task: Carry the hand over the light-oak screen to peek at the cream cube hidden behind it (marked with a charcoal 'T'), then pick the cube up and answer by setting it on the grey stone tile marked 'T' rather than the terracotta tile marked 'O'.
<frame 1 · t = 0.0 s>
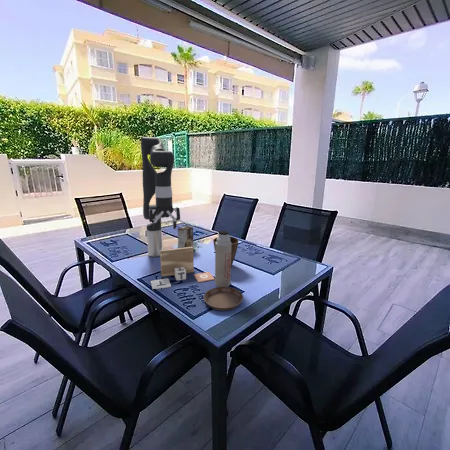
hand: (165, 229, 124), 29 cm above the table, fingers open, 8 cm apart
letter cube: (180, 277, 140), on the table
plant saucer: (223, 302, 118), on the table
coffee box: (185, 250, 181), on the table
thermos bottle: (222, 284, 134), on the table
plant pot: (225, 265, 157), on the table
pad T: (160, 284, 132), on the table
screen: (177, 272, 146), on the table
pad O: (203, 277, 140), on the table
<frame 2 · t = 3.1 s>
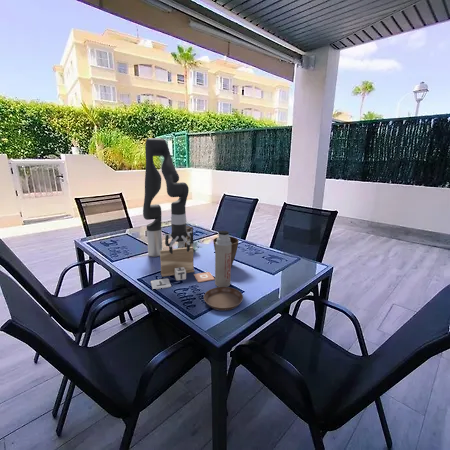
hand: (179, 252, 136), 15 cm above the table, fingers open, 8 cm apart
nothing on the table moved.
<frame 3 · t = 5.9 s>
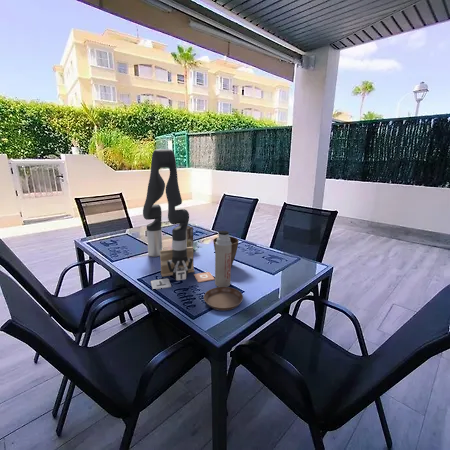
hand: (180, 277, 139), 0 cm above the table, fingers closed on letter cube, 5 cm apart
letter cube: (180, 277, 140), on the table, touching gripper
everything else where it was.
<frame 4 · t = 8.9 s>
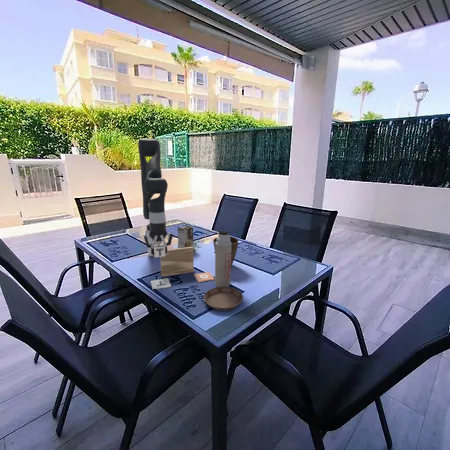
hand: (159, 254, 128), 16 cm above the table, fingers closed on letter cube, 5 cm apart
letter cube: (159, 255, 128), point 16 cm above the table, touching gripper
everything else where it was.
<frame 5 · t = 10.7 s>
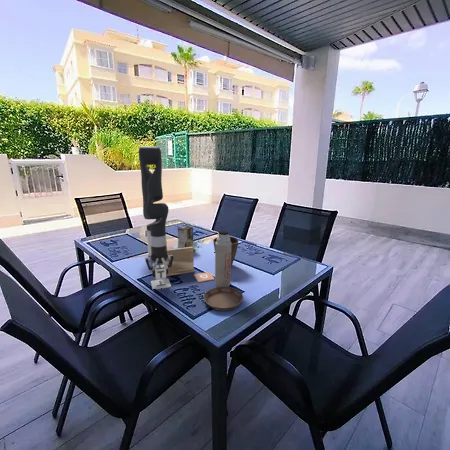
hand: (160, 275, 131), 5 cm above the table, fingers closed on letter cube, 5 cm apart
letter cube: (160, 276, 131), point 4 cm above the table, touching gripper
everything else where it was.
when the fingers open (2 cm above the table, at t = 11.9 s): letter cube stays where it is, resting on pad T.
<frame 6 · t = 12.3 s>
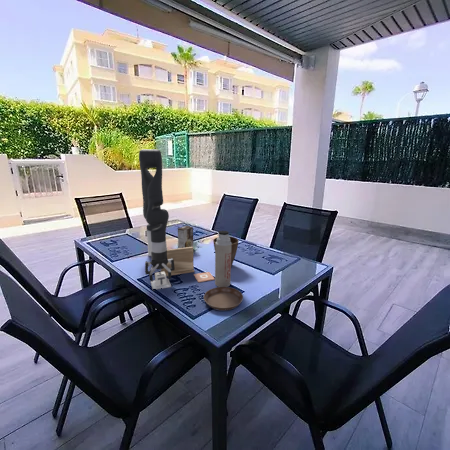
hand: (160, 279, 131), 3 cm above the table, fingers open, 8 cm apart
letter cube: (160, 283, 132), point 1 cm above the table, touching pad T
everything else where it was.
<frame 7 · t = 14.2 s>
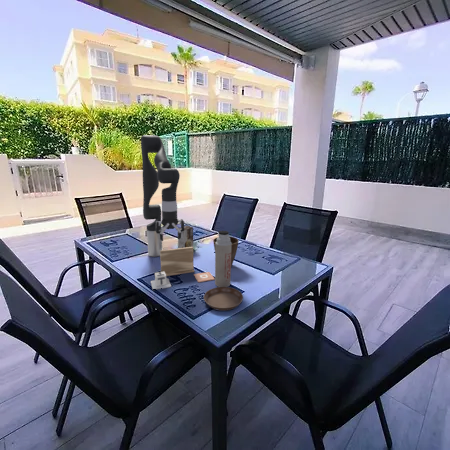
hand: (170, 239, 134), 21 cm above the table, fingers open, 8 cm apart
nothing on the table moved.
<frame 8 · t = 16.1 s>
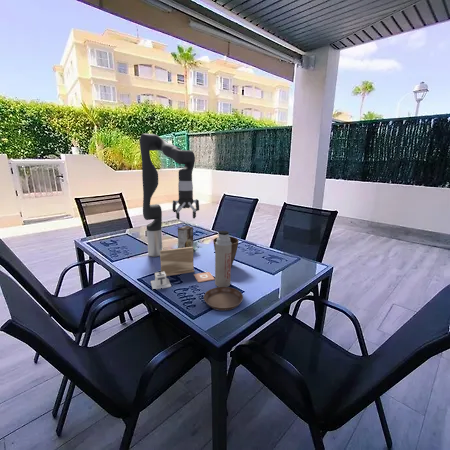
hand: (186, 218, 142), 30 cm above the table, fingers open, 8 cm apart
nothing on the table moved.
at the end: letter cube inside the target area on the pad T (0.1 cm from its centre), point 0.7 cm above the pad T's base; letter cube tilted 0°; the gripper is holding nothing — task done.
